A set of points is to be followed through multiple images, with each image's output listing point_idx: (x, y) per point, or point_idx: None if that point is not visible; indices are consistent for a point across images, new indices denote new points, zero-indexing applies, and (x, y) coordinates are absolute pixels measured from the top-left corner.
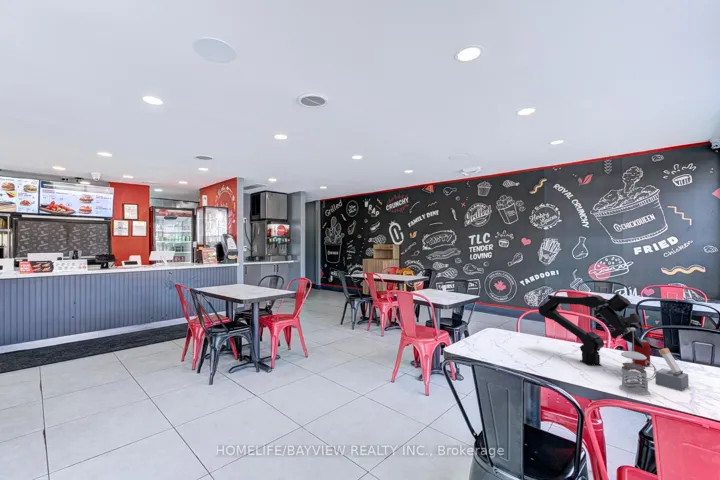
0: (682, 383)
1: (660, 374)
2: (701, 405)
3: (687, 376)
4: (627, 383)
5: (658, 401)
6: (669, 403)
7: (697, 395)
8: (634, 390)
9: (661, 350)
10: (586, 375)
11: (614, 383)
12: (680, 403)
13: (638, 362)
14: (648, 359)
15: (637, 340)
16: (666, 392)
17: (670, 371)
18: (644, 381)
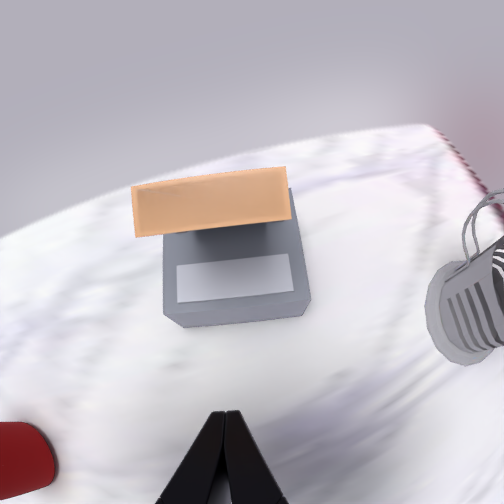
0: None
1: (305, 276)
2: (373, 150)
3: None
4: (462, 347)
5: (475, 222)
6: (457, 200)
7: None
8: (496, 288)
9: (286, 189)
10: (476, 485)
11: (472, 388)
12: (424, 183)
13: (49, 464)
14: (12, 427)
15: (275, 484)
16: (371, 243)
17: (199, 262)
18: (459, 278)
